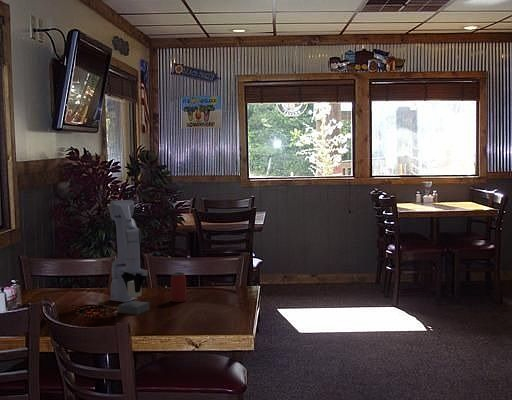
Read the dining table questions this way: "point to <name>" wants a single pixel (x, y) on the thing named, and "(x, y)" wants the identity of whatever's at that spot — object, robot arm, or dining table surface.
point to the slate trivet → (134, 307)
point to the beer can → (178, 287)
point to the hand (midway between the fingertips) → (133, 291)
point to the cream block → (133, 290)
